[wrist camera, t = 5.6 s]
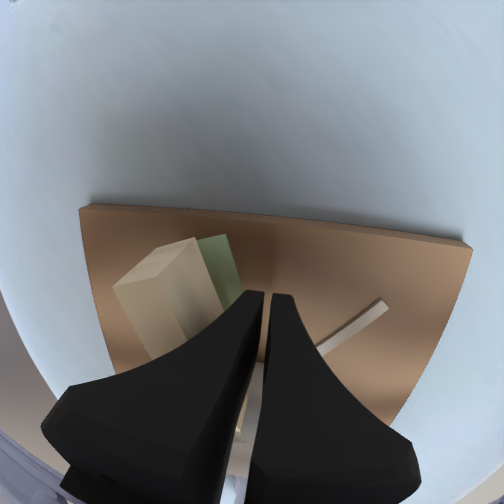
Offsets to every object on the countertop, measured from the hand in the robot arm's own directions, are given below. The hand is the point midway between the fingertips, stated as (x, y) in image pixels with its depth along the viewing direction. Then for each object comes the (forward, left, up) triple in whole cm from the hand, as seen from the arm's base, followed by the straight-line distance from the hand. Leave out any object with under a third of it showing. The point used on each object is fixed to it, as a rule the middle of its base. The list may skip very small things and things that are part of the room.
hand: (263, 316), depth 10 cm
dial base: (-6, 0, -3) cm, 7 cm away
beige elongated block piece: (-3, +1, -2) cm, 4 cm away
